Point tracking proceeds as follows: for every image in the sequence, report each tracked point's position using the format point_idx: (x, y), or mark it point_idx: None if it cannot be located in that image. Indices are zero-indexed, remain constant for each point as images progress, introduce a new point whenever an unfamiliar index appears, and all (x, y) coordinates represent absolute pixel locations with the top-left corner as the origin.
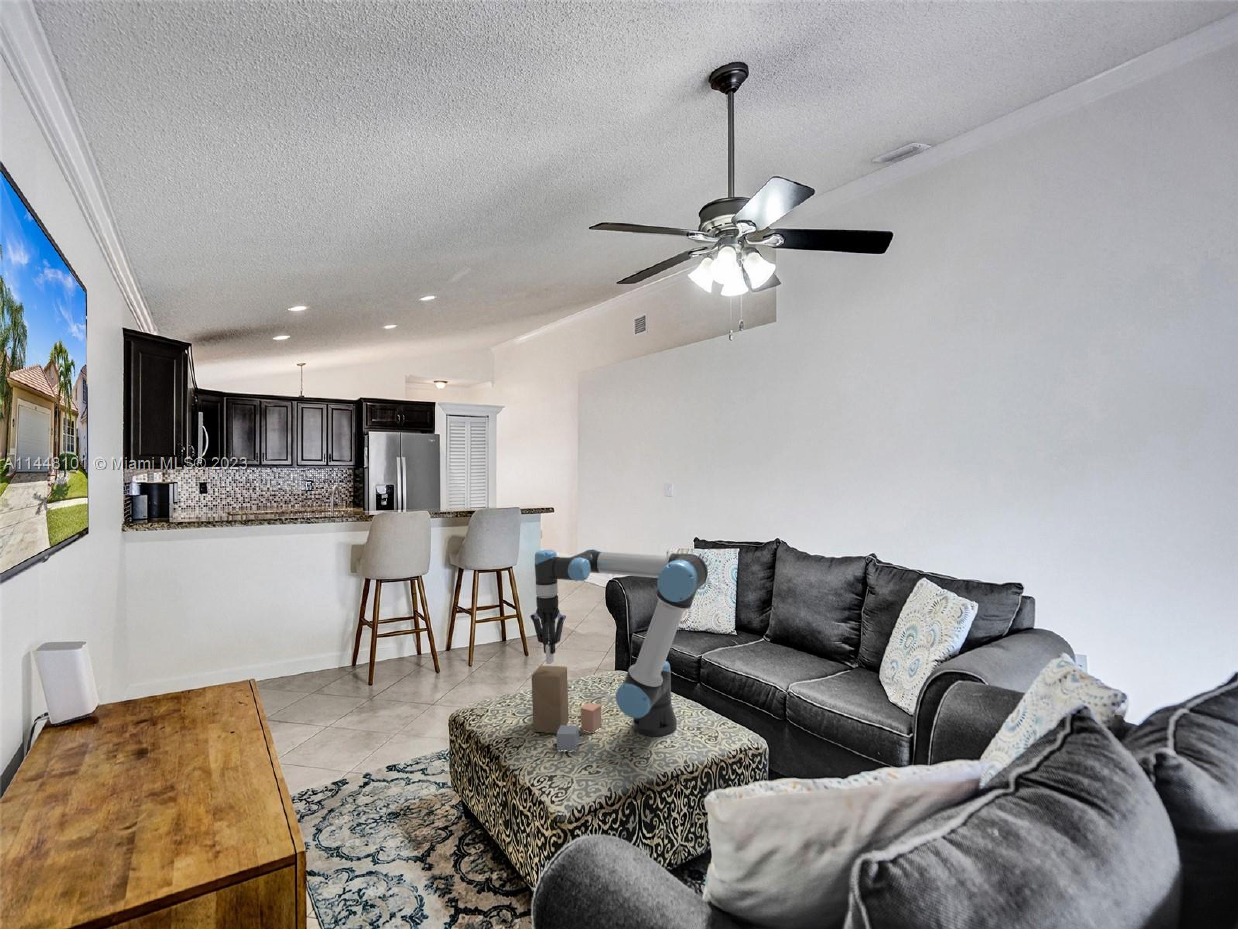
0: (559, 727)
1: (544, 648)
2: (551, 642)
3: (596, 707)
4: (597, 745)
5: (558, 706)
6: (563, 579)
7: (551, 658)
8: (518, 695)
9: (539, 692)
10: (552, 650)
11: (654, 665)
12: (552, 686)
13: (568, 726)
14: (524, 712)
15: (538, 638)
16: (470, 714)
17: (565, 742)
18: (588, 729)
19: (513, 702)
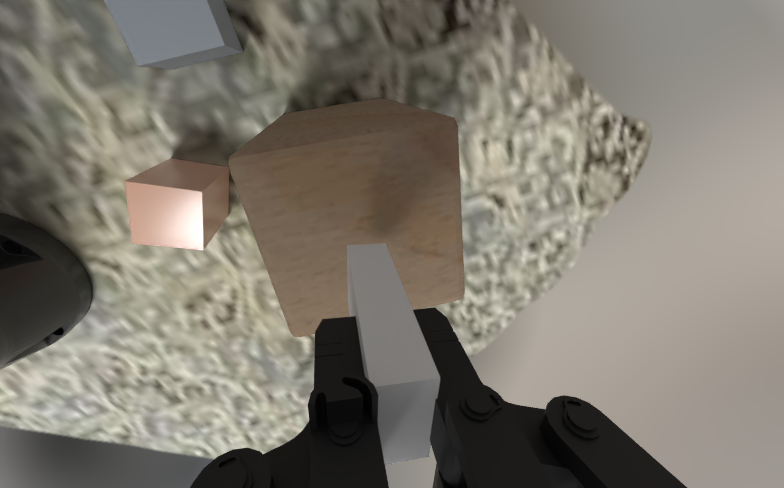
0: (213, 17)
1: (449, 347)
2: (331, 454)
3: (135, 218)
4: (89, 74)
5: (271, 125)
6: None
7: (351, 295)
8: (525, 301)
9: (376, 114)
10: (329, 350)
11: None
12: (289, 133)
13: (178, 42)
14: (472, 221)
15: (630, 460)
16: (623, 156)
17: None
18: (190, 164)
19: (524, 263)
